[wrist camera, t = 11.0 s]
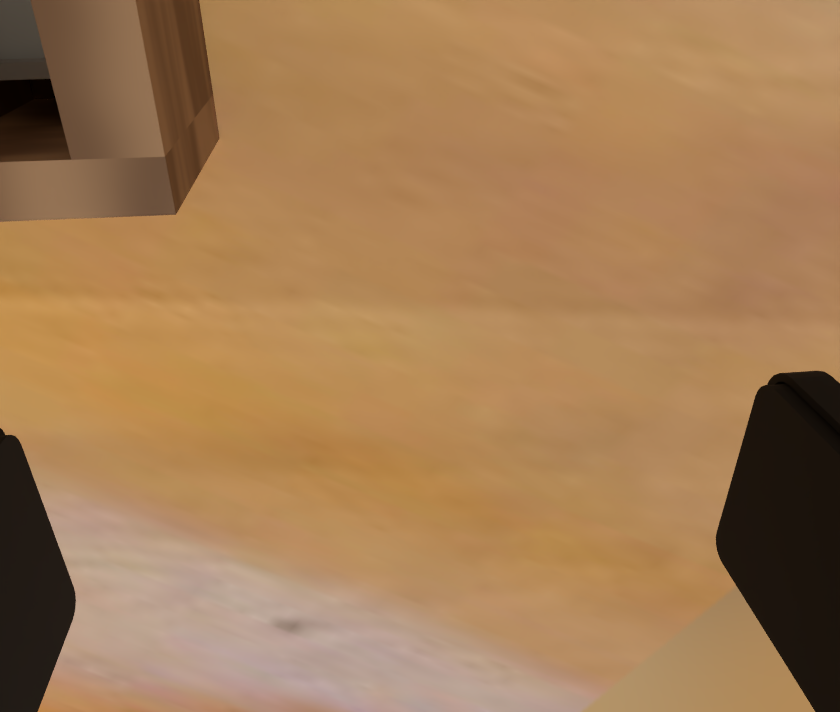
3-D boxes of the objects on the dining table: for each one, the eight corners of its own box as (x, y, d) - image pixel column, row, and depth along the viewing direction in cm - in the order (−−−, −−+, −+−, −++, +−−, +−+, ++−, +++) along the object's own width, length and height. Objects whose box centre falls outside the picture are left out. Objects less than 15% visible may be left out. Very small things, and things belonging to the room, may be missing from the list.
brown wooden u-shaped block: (190, -55, 30) (125, -52, 20) (219, 138, 34) (175, 214, 24) (-85, -53, 29) (-287, -49, 19) (-21, 145, 33) (-163, 228, 23)
